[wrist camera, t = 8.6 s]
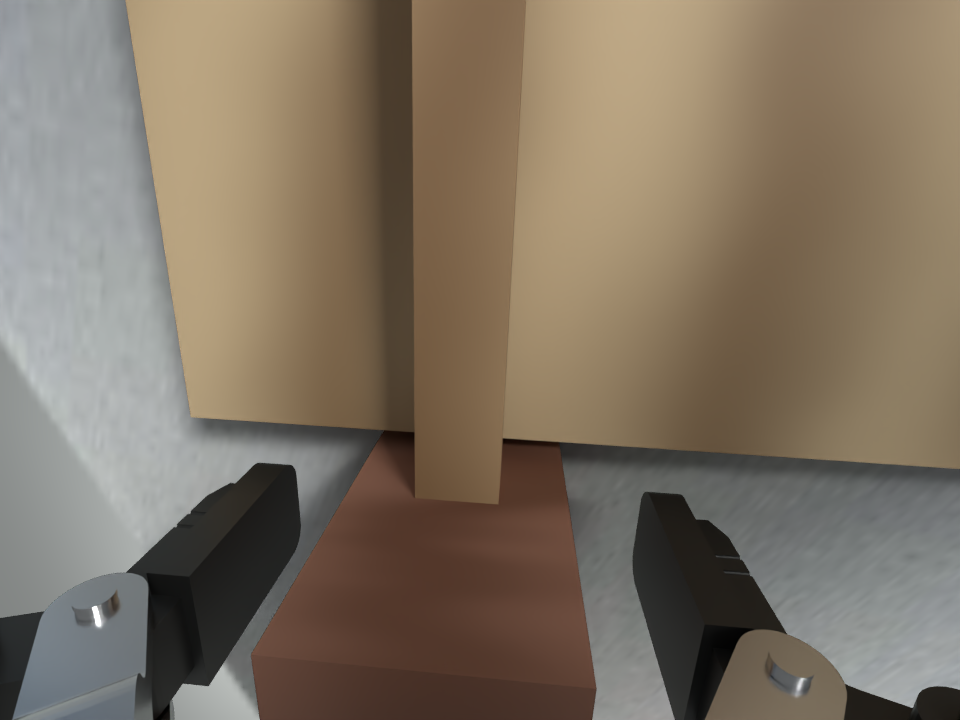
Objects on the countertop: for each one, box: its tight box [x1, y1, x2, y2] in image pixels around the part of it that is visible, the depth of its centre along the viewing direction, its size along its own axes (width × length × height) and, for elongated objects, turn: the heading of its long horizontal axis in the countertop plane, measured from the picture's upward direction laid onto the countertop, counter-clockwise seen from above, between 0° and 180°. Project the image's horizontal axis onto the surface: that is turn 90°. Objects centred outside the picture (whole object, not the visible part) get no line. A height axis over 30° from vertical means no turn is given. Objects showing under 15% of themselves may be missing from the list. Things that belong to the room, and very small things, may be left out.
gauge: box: [251, 0, 596, 720], centre depth 8 cm, size 4×14×7 cm, turn 178°
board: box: [125, 0, 960, 469], centre depth 10 cm, size 24×10×2 cm, turn 88°
